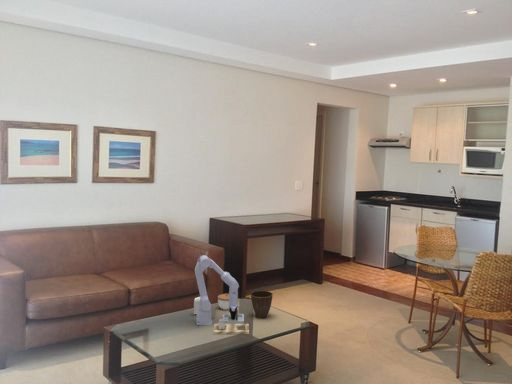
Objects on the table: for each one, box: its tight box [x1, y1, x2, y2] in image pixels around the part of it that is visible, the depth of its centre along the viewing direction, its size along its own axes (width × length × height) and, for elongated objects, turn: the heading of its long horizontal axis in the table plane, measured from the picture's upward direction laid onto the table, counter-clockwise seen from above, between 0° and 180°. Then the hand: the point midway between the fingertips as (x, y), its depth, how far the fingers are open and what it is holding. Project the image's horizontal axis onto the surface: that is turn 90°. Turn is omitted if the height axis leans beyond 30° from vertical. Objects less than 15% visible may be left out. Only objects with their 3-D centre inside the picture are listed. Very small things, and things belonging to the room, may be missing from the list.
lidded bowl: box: [217, 292, 230, 311], centre depth 343 cm, size 13×13×11 cm
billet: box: [218, 318, 226, 330], centre depth 302 cm, size 4×6×6 cm, turn 2°
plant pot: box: [250, 290, 274, 319], centre depth 327 cm, size 15×15×16 cm
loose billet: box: [228, 311, 239, 321], centre depth 318 cm, size 4×6×6 cm, turn 92°
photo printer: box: [193, 296, 201, 315], centre depth 330 cm, size 10×4×12 cm, turn 98°
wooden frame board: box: [212, 323, 250, 335], centre depth 302 cm, size 22×14×2 cm, turn 92°
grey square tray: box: [222, 313, 245, 324], centre depth 318 cm, size 14×14×2 cm
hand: (233, 318), depth 318 cm, fingers open, 4 cm apart
